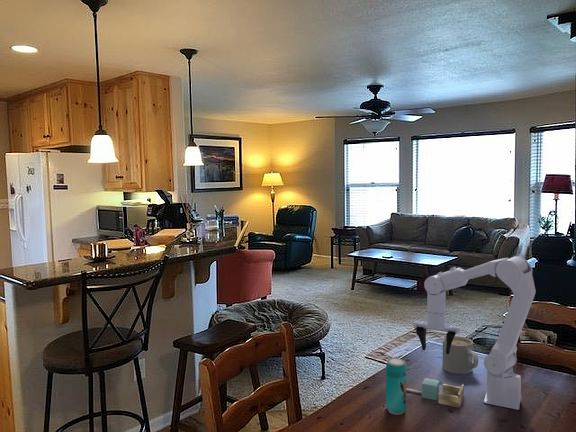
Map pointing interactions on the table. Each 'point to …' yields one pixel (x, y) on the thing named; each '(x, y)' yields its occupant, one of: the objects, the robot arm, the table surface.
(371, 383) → the table surface
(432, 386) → the tethered block
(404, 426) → the table surface
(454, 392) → the wooden bracket
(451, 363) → the coffee mug
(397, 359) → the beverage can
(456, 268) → the robot arm
